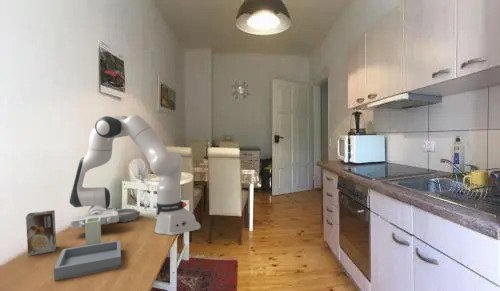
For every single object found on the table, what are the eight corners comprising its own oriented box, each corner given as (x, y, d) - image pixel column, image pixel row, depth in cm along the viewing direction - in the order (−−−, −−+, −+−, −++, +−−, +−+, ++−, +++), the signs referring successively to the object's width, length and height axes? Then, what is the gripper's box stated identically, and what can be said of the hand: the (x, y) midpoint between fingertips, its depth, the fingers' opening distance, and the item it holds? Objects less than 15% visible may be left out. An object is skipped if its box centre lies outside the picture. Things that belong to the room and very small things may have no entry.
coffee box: (57, 246, 122) (55, 209, 121) (54, 251, 116) (53, 213, 115) (30, 250, 117) (29, 212, 117) (27, 256, 112) (25, 216, 111)
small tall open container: (101, 243, 124) (100, 216, 124) (100, 249, 118) (99, 220, 117) (87, 245, 122) (86, 218, 121) (85, 251, 115) (84, 222, 115)
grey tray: (120, 249, 117) (119, 240, 117) (121, 267, 101) (121, 256, 101) (63, 259, 108) (62, 249, 108) (54, 280, 92) (53, 268, 92)
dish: (119, 225, 151) (119, 215, 151) (107, 220, 159) (106, 212, 159) (143, 218, 162) (143, 210, 162) (131, 214, 171) (130, 206, 171)
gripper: (72, 213, 137) (68, 220, 124) (118, 208, 146) (118, 214, 133) (72, 226, 137) (68, 234, 124) (118, 220, 146) (119, 227, 133)
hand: (94, 224), depth 129 cm, fingers open, 8 cm apart
